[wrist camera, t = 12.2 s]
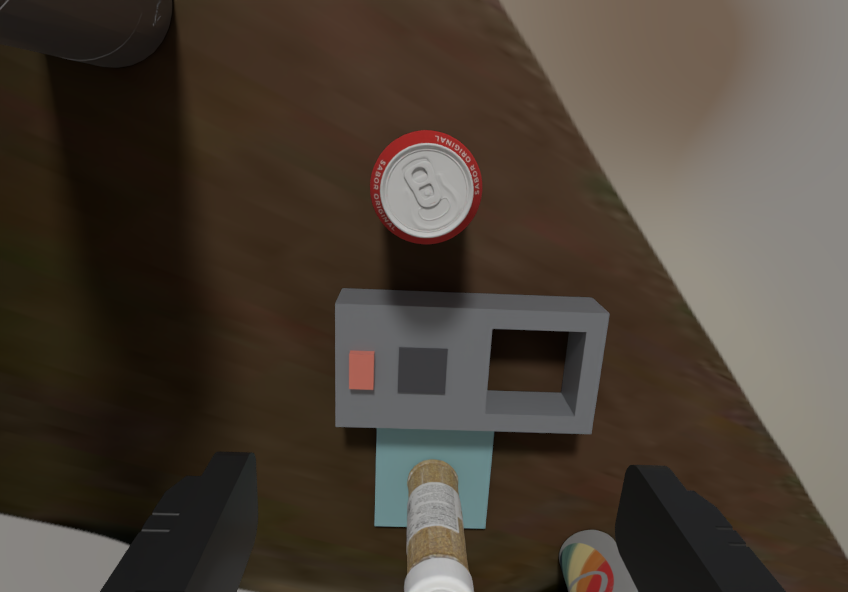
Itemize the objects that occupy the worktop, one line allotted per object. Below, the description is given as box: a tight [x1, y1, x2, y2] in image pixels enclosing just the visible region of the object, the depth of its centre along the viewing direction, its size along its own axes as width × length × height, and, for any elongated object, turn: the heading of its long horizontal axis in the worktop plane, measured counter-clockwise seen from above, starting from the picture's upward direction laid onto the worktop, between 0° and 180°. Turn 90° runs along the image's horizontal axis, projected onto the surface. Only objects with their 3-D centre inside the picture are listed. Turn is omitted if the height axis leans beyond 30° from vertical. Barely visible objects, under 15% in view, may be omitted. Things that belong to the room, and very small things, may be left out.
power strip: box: [335, 288, 610, 434], centre depth 42 cm, size 20×10×5 cm, turn 87°
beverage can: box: [370, 130, 482, 244], centre depth 34 cm, size 6×6×12 cm
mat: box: [375, 428, 494, 529], centre depth 47 cm, size 10×10×1 cm
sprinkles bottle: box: [404, 459, 474, 592], centre depth 40 cm, size 5×5×13 cm
